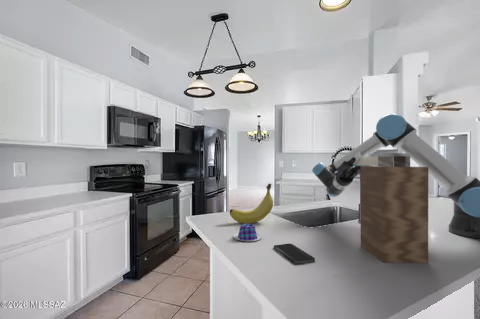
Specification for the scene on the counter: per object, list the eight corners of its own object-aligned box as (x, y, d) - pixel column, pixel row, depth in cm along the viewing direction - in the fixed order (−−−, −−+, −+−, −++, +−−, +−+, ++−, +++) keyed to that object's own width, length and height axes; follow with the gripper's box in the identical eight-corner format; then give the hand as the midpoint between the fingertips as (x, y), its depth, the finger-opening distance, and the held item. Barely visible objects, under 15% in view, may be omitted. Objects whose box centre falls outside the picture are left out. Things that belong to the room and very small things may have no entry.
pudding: (257, 232, 103) (257, 221, 103) (265, 242, 92) (266, 228, 92) (231, 234, 101) (231, 222, 101) (235, 244, 89) (236, 230, 89)
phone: (295, 262, 71) (272, 245, 85) (295, 266, 71) (272, 248, 85) (316, 259, 73) (291, 243, 88) (316, 262, 73) (291, 246, 88)
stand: (398, 246, 87) (398, 154, 87) (428, 262, 73) (428, 153, 73) (360, 246, 87) (360, 154, 87) (383, 262, 73) (383, 152, 73)
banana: (230, 225, 114) (230, 184, 114) (228, 222, 120) (229, 183, 120) (274, 223, 118) (274, 184, 118) (270, 220, 124) (271, 182, 124)
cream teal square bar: (358, 165, 105) (358, 158, 105) (389, 165, 83) (389, 156, 83) (350, 165, 105) (350, 158, 105) (379, 165, 83) (379, 156, 83)
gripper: (361, 186, 115) (387, 162, 95) (328, 186, 115) (346, 162, 95) (357, 173, 119) (381, 147, 99) (325, 172, 119) (342, 147, 99)
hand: (364, 154), depth 97 cm, fingers closed on cream teal square bar, 3 cm apart
